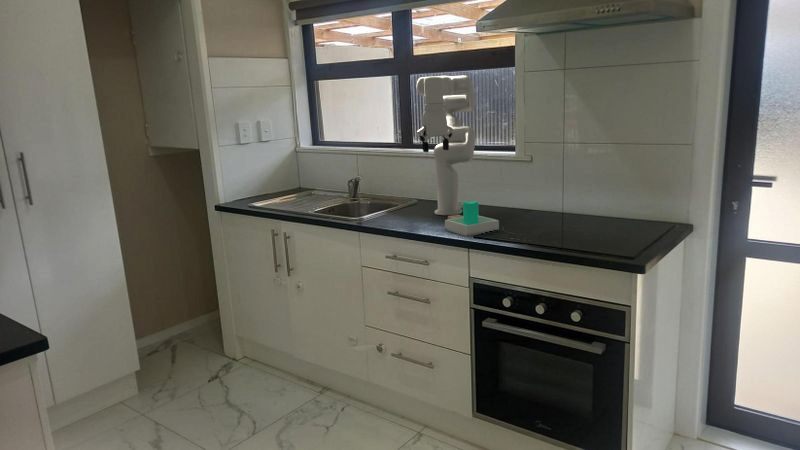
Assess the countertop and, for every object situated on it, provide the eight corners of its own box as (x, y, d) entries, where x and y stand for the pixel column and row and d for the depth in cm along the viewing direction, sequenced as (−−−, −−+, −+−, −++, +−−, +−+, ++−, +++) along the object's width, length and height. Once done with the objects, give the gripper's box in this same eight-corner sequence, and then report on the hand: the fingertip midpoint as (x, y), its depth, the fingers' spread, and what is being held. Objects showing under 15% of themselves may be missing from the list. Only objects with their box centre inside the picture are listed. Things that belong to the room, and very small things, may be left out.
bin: (475, 224, 240) (475, 214, 239) (498, 230, 227) (498, 220, 226) (445, 229, 232) (444, 219, 232) (467, 236, 220) (467, 226, 219)
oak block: (458, 224, 243) (457, 214, 242) (465, 226, 238) (464, 216, 237) (448, 225, 240) (447, 216, 239) (454, 227, 236) (454, 218, 235)
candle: (481, 227, 230) (481, 197, 227) (472, 230, 225) (472, 199, 223) (469, 225, 234) (469, 196, 231) (460, 228, 230) (459, 198, 227)
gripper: (447, 107, 242) (448, 148, 245) (411, 109, 234) (413, 152, 237) (457, 107, 235) (458, 149, 239) (421, 109, 227) (422, 153, 231)
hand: (435, 150), depth 238 cm, fingers open, 9 cm apart
